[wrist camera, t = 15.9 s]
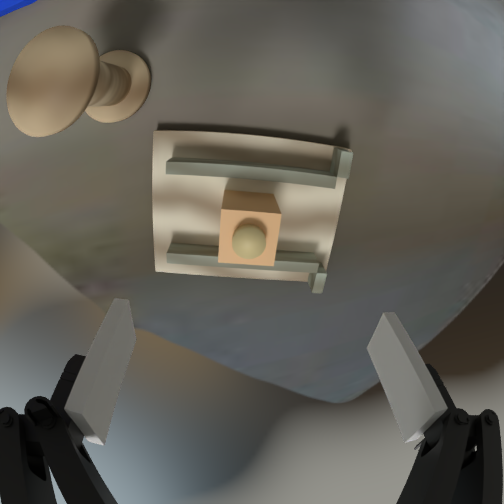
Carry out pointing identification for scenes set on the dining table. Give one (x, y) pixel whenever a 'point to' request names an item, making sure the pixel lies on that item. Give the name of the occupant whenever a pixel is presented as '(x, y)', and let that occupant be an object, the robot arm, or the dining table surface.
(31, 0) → the bracket
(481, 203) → the dining table surface
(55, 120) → the bobbin
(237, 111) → the dining table surface
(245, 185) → the board
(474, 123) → the dining table surface
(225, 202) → the tab
